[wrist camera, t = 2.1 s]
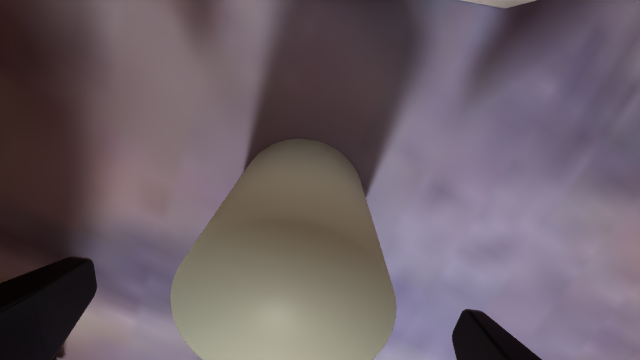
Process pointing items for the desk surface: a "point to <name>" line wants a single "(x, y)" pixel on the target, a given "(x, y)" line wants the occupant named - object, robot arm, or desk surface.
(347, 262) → the sage cylinder
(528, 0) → the low wall
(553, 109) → the desk surface
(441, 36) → the desk surface
